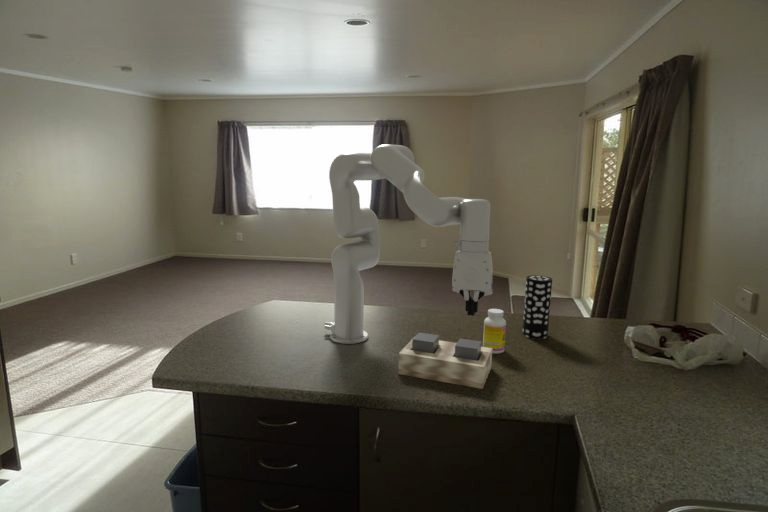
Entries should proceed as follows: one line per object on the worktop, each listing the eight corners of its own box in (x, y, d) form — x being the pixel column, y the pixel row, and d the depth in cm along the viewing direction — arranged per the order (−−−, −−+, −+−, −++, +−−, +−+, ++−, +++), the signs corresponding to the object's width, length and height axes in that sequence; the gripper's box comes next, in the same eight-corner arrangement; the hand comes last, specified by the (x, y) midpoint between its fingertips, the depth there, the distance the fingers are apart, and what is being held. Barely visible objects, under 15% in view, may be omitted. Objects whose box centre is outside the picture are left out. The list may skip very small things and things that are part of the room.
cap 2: (454, 359, 129) (455, 345, 128) (459, 351, 134) (460, 338, 133) (476, 363, 127) (477, 349, 126) (480, 355, 132) (481, 341, 131)
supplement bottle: (504, 355, 145) (507, 314, 143) (482, 353, 147) (484, 313, 144) (503, 347, 152) (506, 308, 149) (482, 345, 153) (484, 307, 151)
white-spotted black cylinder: (552, 336, 162) (557, 279, 159) (536, 341, 158) (541, 282, 154) (532, 329, 169) (537, 274, 166) (517, 333, 165) (521, 277, 161)
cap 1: (412, 352, 133) (412, 339, 132) (418, 345, 138) (418, 332, 138) (432, 356, 131) (433, 342, 130) (438, 348, 136) (439, 335, 136)
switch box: (398, 373, 131) (398, 353, 130) (414, 355, 144) (414, 336, 143) (482, 388, 123) (483, 367, 122) (491, 368, 136) (492, 348, 135)
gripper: (442, 247, 124) (440, 315, 127) (501, 250, 119) (497, 321, 122) (449, 243, 131) (447, 307, 134) (505, 246, 125) (501, 313, 129)
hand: (471, 314), depth 128 cm, fingers closed
